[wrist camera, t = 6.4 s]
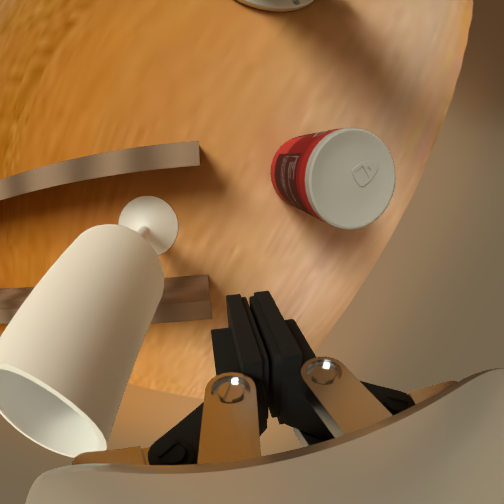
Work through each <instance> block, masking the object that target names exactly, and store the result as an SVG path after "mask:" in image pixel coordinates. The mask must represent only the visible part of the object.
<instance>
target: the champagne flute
mask: <svg viewBox="0 0 504 504" xmlns="http://www.w3.org/2000/svg"><path fill="white" fill-rule="evenodd" d="M177 233H178V221H177V217H176V214H175V212H174V211H173V209H172V208H171V207H170V205H169V204H168V203H166V202H165V201H164V200H162V199H160V198H158V197H154V196H140V197H138V198H135V199H133V200H132V201H130V202H129V203H128V204H127V205H126V206H125V207H124V209H123V210H122V212H121V214H120V217H119V222H118V225H114V224H105V225H98V226H94V227H92V228H90V229H87V230H86V231H84V232H83V233H82V234H80V235H79V236H78V237H77V238H76V239H75V241H74V242H73V243H72V244H71V245H70V246H69V247H68V248H67V249H66V250H65V252H64V253H63V254H62V255H61V256H60V257H59V258H58V260H57V261H56V262H55V263H54V264H53V265H52V267H51V268H50V269H49V270H48V271H47V273H46V274H45V275H44V276H43V278H42V279H41V280H40V281H39V283H38V284H37V285H36V287H35V288H34V289H33V290H32V292H31V293H30V294H29V296H28V297H27V298H26V300H25V301H24V303H23V304H22V305H21V307H20V308H19V310H18V311H17V312H16V314H15V315H14V317H13V318H12V320H11V321H10V323H9V324H8V326H7V327H6V329H5V330H4V332H3V334H2V335H1V337H0V414H1V415H2V416H3V417H4V418H5V419H6V420H7V421H8V422H9V423H10V424H11V425H12V426H14V427H15V428H16V429H17V430H18V431H20V432H21V433H22V434H24V435H25V436H26V437H28V438H29V439H31V440H33V441H34V442H36V443H38V444H39V445H41V446H43V447H45V448H47V449H49V450H51V451H54V452H57V453H59V454H62V455H65V456H69V457H74V458H75V457H76V456H78V455H79V454H81V453H85V452H93V451H105V450H106V448H107V445H108V441H109V438H110V435H111V431H112V427H113V425H114V422H115V419H116V415H117V412H118V409H119V406H120V403H121V400H122V398H123V395H124V392H125V389H126V386H127V383H128V380H129V378H130V375H131V372H132V370H133V367H134V364H135V361H136V359H137V356H138V354H139V351H140V348H141V346H142V343H143V341H144V338H145V336H146V333H147V331H148V328H149V326H150V323H151V321H152V319H153V316H154V314H155V311H156V309H157V307H158V304H159V302H160V300H161V297H162V294H163V289H164V274H163V269H162V265H161V262H160V260H159V257H158V255H160V254H162V253H164V252H166V251H167V250H168V249H169V248H170V247H171V246H172V245H173V243H174V241H175V239H176V237H177Z"/></svg>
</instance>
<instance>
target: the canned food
mask: <svg viewBox="0 0 504 504" xmlns="http://www.w3.org/2000/svg"><path fill="white" fill-rule="evenodd" d="M395 179H396V177H395V167H394V162H393V159H392V156H391V154H390V152H389V150H388V148H387V147H386V145H385V144H384V143H383V142H382V141H381V140H380V138H378V137H377V136H376V135H374V134H373V133H371V132H368V131H366V130H363V129H358V128H342V129H334V130H329V131H323V132H318V133H313V134H308V135H303V136H299V137H295V138H292V139H291V140H289V141H287V142H286V143H284V144H283V145H282V146H281V147H280V148H279V150H278V151H277V152H276V154H275V156H274V158H273V161H272V165H271V180H272V183H273V186H274V188H275V190H276V192H277V194H278V195H279V196H280V197H281V198H282V199H283V200H285V201H286V202H288V203H289V204H291V205H293V206H295V207H297V208H299V209H301V210H303V211H305V212H306V213H308V214H310V215H312V216H314V217H316V218H318V219H319V220H321V221H324V222H326V223H328V224H330V225H332V226H334V227H338V228H342V229H358V228H363V227H365V226H367V225H369V224H371V223H372V222H374V221H375V220H376V219H378V218H379V216H380V215H381V214H382V213H383V212H384V211H385V209H386V208H387V206H388V205H389V202H390V200H391V198H392V195H393V192H394V188H395Z"/></svg>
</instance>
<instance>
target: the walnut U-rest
mask: <svg viewBox="0 0 504 504" xmlns="http://www.w3.org/2000/svg"><path fill="white" fill-rule="evenodd" d="M198 165H200V157H199V141H191V142H180V143H169V144H160V145H152V146H144V147H137V148H130V149H123V150H117V151H111V152H106V153H100V154H95V155H90V156H85V157H80V158H76V159H72V160H67V161H63V162H59V163H55V164H51V165H47V166H44V167H40V168H36V169H33V170H30V171H26V172H23V173H20V174H17V175H13V176H10V177H7V178H5V179H2V180H0V200H3V199H6V198H10V197H13V196H17V195H21V194H25V193H28V192H32V191H36V190H40V189H45V188H49V187H53V186H58V185H63V184H67V183H72V182H77V181H82V180H88V179H93V178H99V177H105V176H111V175H118V174H125V173H132V172H139V171H147V170H156V169H165V168H175V167H186V166H198ZM34 288H35V287H27V288H6V289H0V323H1V324H9V323H10V321H11V320H12V318H13V317H14V315H15V314H16V312H17V311H18V310H19V308H20V307H21V305H22V304H23V303H24V301H25V300H26V298H27V297H28V296H29V294H30V293H31V292H32V290H33V289H34ZM203 319H212V312H211V303H210V294H209V284H208V275H197V276H185V277H174V278H164V289H163V294H162V297H161V300H160V302H159V304H158V307H157V309H156V311H155V314H154V316H153V319H152V321H151V323H166V322H180V321H192V320H203Z"/></svg>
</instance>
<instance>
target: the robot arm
mask: <svg viewBox="0 0 504 504" xmlns="http://www.w3.org/2000/svg"><path fill="white" fill-rule="evenodd" d="M237 1H239V2H240V3H243V4H245V5H248V6H250V7H254V8H257V9H261V10H267V11H277V12H285V11H293V10H298V9H301V8H303V7H306V6H307V5H309V4H310V3H312V1H313V0H237ZM249 300H250V307H249V304H248V301H247V299H246V297H242V298H241V295H240V294H236V295H227V296H226V302H227V314H228V325H229V328H223V329H213V330H211V334H212V343H213V352H214V360H215V368H216V376H215V377H214V378H212V379H211V380H210V381H209V382H208V384H207V386H206V389H205V397H204V402H203V403H202V404H201V405H200V406H199V407H198V408H196V409H195V410H194V411H193V412H191V413H190V414H189V415H188V416H187V417H186V418H184V419H183V420H182V421H181V422H179V423H178V424H177V425H176V426H175V427H173V428H172V429H171V430H170V431H168V432H167V433H166V434H165V435H164V436H162V437H161V438H159V439H158V440H157V441H156V442H154V444H153V445H152V446H151V447H149V448H144V449H142V448H141V447H140V446H137V447H130V448H124V449H115V450H105V451H93V452H85V453H81V454H79V455H78V456H76V457H75V458H74V460H73V461H72V465H69V466H65V467H60V468H56V469H52V470H49V471H47V472H45V473H43V474H41V475H40V476H39V477H38V478H37V479H36V480H35V482H34V483H33V485H32V487H31V489H30V491H29V495H28V497H27V500H26V504H504V368H495V369H489V370H485V371H482V372H479V373H476V374H473V375H471V376H469V377H466V378H464V379H462V380H460V381H458V382H457V381H446V382H443V383H439V384H436V385H432V386H428V387H424V388H420V389H416V390H411V391H409V393H408V394H406V393H403V392H401V391H397V390H393V389H389V388H385V387H381V386H377V385H373V384H369V383H365V382H362V381H359V380H358V379H357V378H356V377H355V376H354V375H353V374H352V373H351V372H350V371H349V370H348V369H347V368H346V367H345V366H344V365H343V364H342V363H341V362H340V361H338V360H336V359H334V358H330V357H316V356H315V354H314V353H313V351H312V349H311V348H310V346H309V344H308V342H307V341H306V339H305V337H304V336H303V334H302V332H301V331H300V329H299V327H298V326H297V324H296V322H295V321H294V320H293V319H289V320H284V318H283V317H282V315H281V313H280V311H279V309H278V307H277V305H276V304H275V302H274V300H273V298H272V296H271V294H270V292H269V291H262V292H255V293H254V296H251V297H250V299H249ZM268 407H269V410H270V413H271V416H272V417H273V418H274V417H277V418H278V421H279V424H284V423H285V424H286V425H289V426H291V427H294V432H295V435H296V436H297V438H298V440H299V441H300V443H301V444H302V446H303V448H299V449H295V450H290V451H286V452H282V453H277V454H272V455H267V456H261V450H260V435H261V434H262V433H263V432H264V431H265V430H266V428H267V419H268Z"/></svg>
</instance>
